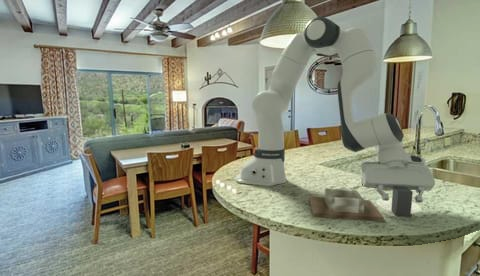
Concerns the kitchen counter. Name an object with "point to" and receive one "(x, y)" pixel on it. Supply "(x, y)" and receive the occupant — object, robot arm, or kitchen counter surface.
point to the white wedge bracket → (362, 175)
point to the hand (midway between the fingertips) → (402, 200)
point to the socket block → (344, 206)
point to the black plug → (401, 201)
